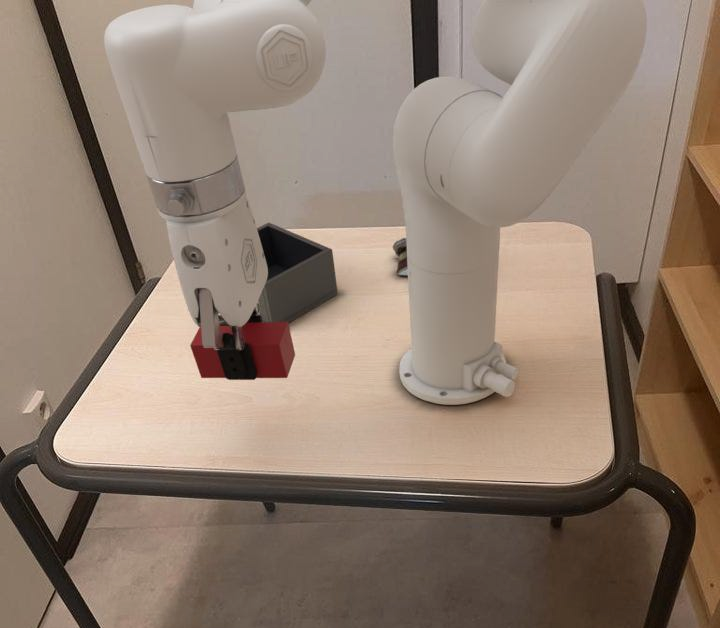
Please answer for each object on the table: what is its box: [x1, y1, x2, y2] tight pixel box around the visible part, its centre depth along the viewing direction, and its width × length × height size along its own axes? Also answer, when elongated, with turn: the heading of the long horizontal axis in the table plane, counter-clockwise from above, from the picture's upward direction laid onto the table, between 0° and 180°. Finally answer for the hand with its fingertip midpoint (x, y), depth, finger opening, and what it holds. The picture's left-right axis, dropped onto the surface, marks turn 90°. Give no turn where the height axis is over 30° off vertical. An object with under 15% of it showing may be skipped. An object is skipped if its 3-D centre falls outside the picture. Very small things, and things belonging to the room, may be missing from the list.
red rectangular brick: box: [190, 322, 296, 379], centre depth 71 cm, size 9×4×4 cm, turn 81°
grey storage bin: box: [256, 222, 339, 324], centre depth 99 cm, size 14×12×7 cm
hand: (247, 362), depth 72 cm, fingers closed on red rectangular brick, 3 cm apart
